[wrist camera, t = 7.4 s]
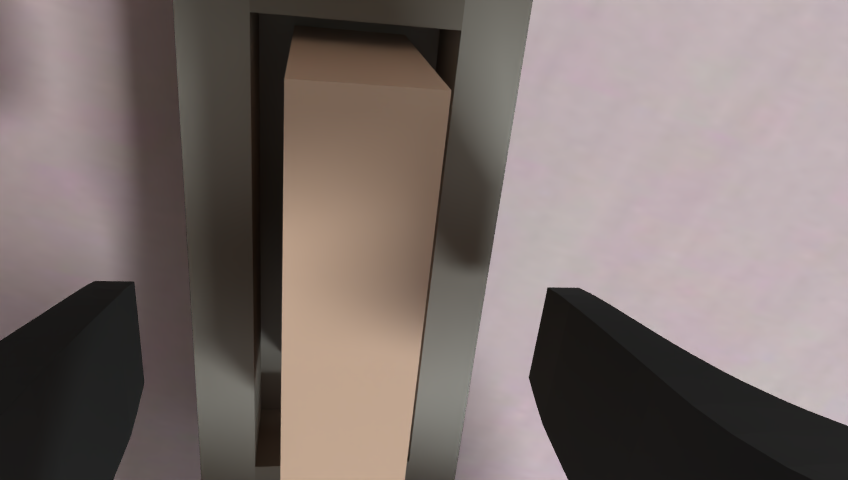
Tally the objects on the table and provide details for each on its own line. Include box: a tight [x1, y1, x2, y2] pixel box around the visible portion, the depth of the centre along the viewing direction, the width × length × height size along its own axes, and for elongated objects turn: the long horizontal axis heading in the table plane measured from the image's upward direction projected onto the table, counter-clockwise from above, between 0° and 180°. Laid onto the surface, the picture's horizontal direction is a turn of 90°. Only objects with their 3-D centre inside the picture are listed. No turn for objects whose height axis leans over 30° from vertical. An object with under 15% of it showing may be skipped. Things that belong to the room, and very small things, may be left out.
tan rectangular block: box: [280, 25, 451, 480], centre depth 12 cm, size 8×2×5 cm, turn 174°
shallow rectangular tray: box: [173, 0, 533, 480], centre depth 14 cm, size 12×6×3 cm, turn 174°
